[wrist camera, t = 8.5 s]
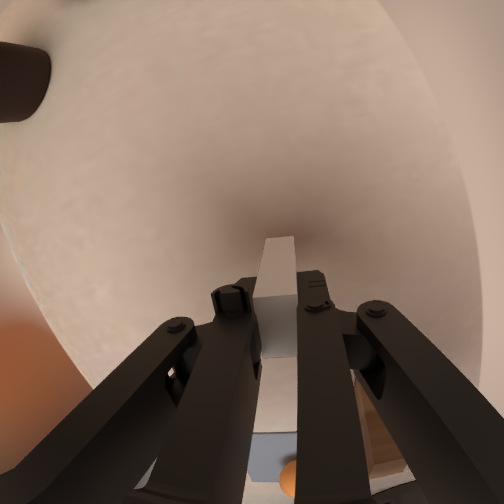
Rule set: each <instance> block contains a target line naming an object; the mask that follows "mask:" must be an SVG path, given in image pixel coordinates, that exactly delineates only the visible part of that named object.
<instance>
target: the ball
mask: <svg viewBox="0 0 504 504" xmlns="http://www.w3.org/2000/svg"><path fill="white" fill-rule="evenodd" d="M295 480H296V459H295V460H293V461H291V462H289V463H288V464H287V465H286V466H285V467H284V468H283V469H282V471H281V473H280V477H279V483H280V486H281V488H282V490H283V491H284V492H285V493H286V494H287V495H289V496H290V497H293V498H295Z"/></svg>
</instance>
